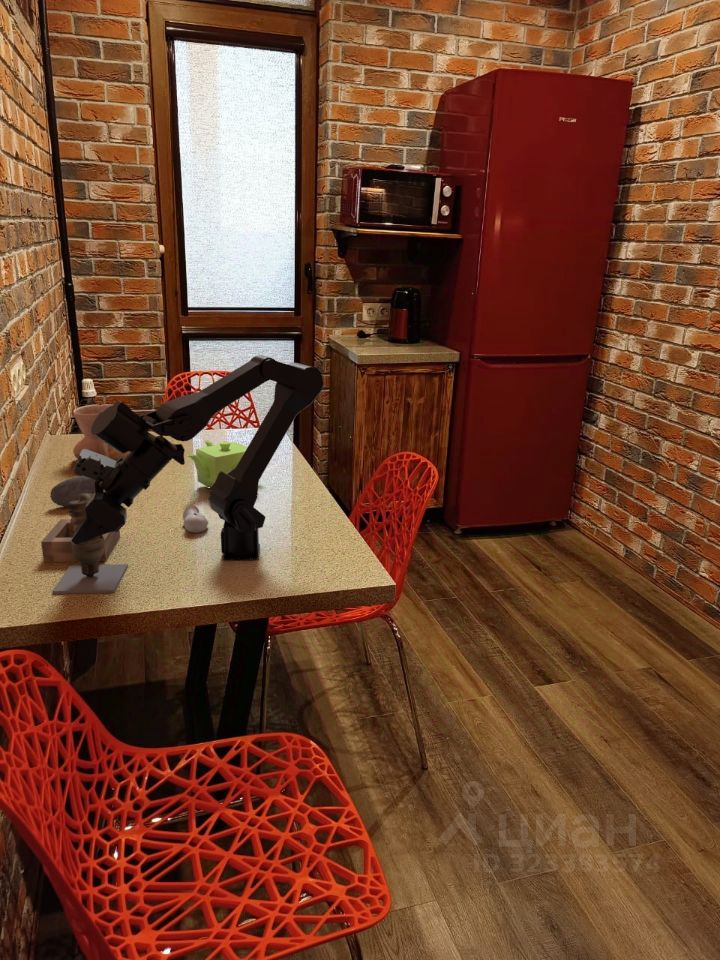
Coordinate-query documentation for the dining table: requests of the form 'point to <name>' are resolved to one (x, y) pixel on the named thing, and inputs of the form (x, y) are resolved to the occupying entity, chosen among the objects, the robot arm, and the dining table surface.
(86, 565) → the light bulb
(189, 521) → the pale two-lobed sculpture
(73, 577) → the rubber mat
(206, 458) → the kettle
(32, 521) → the dining table surface
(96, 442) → the ceramic jug
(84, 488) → the perforated stone tool
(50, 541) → the socket block
